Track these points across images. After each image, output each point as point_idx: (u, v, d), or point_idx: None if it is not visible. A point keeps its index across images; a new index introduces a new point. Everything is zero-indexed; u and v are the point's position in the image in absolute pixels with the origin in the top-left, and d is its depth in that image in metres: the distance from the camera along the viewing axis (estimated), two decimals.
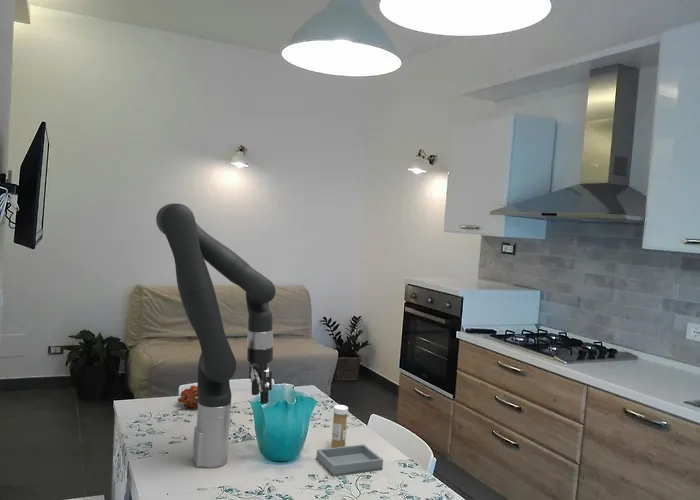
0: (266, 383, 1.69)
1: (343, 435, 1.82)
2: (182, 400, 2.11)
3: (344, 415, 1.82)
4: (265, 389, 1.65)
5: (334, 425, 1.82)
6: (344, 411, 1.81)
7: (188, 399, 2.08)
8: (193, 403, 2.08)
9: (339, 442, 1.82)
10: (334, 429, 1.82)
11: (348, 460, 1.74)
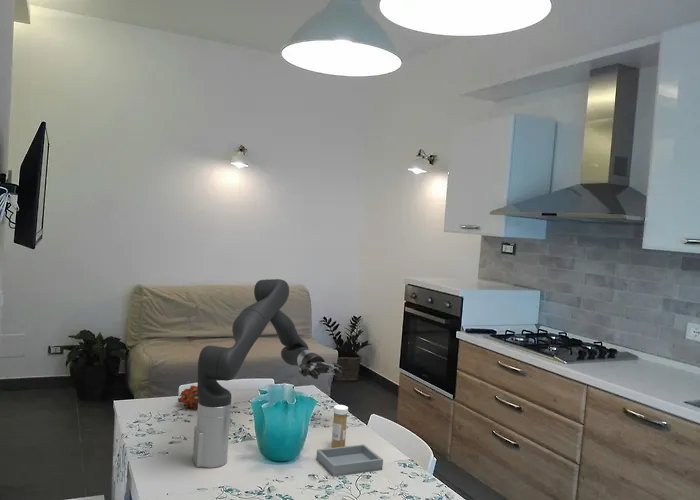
0: (332, 372, 2.00)
1: (343, 435, 1.82)
2: (182, 400, 2.11)
3: (344, 415, 1.82)
4: None
5: (334, 425, 1.82)
6: (344, 411, 1.81)
7: (188, 399, 2.08)
8: (193, 403, 2.08)
9: (339, 442, 1.82)
10: (334, 429, 1.82)
11: (348, 460, 1.74)
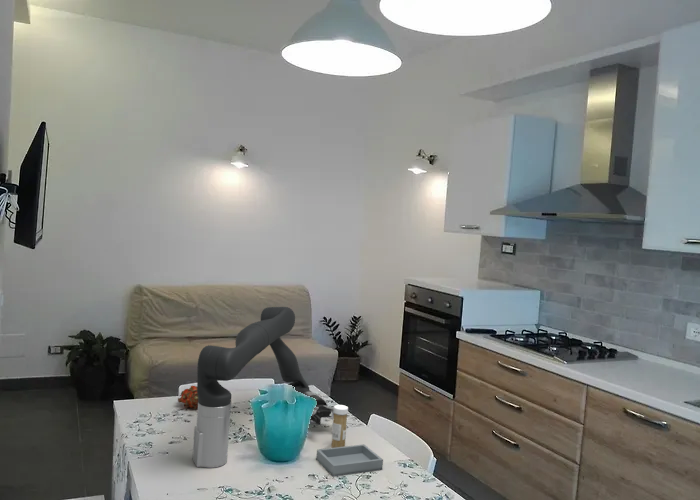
0: None
1: (343, 435, 1.82)
2: (182, 400, 2.11)
3: (344, 415, 1.82)
4: None
5: (334, 425, 1.82)
6: (344, 411, 1.81)
7: (188, 399, 2.08)
8: (193, 403, 2.08)
9: (339, 442, 1.82)
10: (334, 429, 1.82)
11: (348, 460, 1.74)
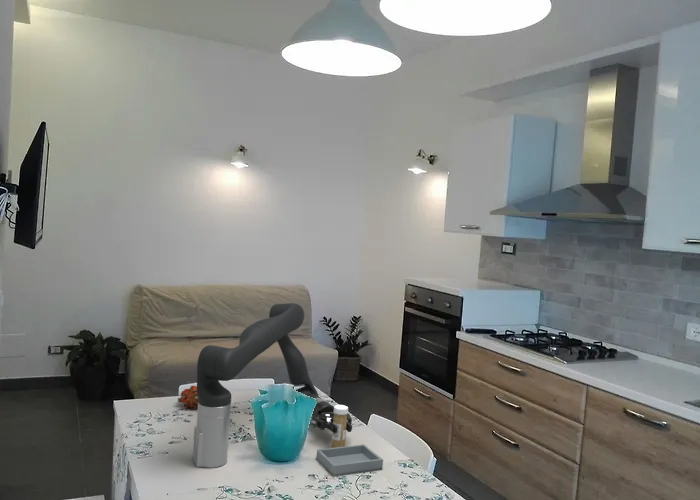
0: None
1: (343, 435, 1.82)
2: (182, 400, 2.11)
3: (344, 415, 1.82)
4: (351, 421, 1.88)
5: None
6: (344, 411, 1.81)
7: (188, 399, 2.08)
8: (193, 403, 2.08)
9: (339, 442, 1.82)
10: None
11: (348, 460, 1.74)
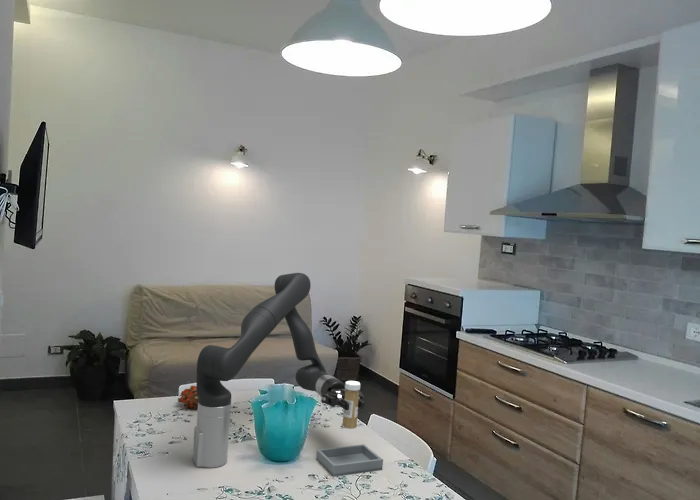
0: None
1: (355, 412, 1.72)
2: (182, 400, 2.11)
3: (356, 391, 1.72)
4: None
5: None
6: (356, 387, 1.72)
7: (188, 399, 2.08)
8: (193, 403, 2.08)
9: (351, 420, 1.72)
10: None
11: (348, 460, 1.74)
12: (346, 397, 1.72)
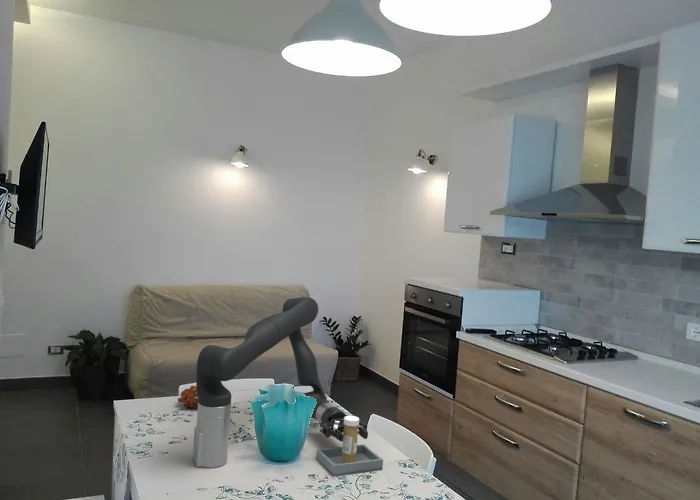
0: None
1: (354, 448, 1.71)
2: (182, 400, 2.11)
3: (355, 427, 1.70)
4: None
5: (344, 437, 1.71)
6: (355, 423, 1.70)
7: (188, 399, 2.08)
8: (193, 403, 2.08)
9: (350, 456, 1.70)
10: (345, 442, 1.70)
11: None
12: (345, 433, 1.71)
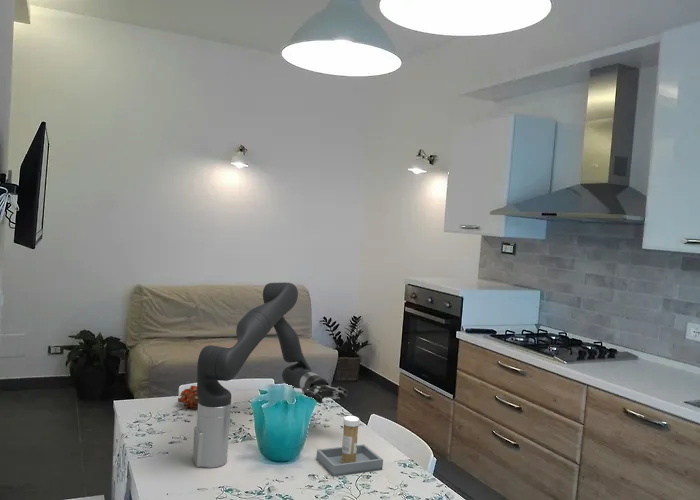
0: (336, 396, 1.90)
1: (354, 448, 1.71)
2: (182, 400, 2.11)
3: (355, 427, 1.70)
4: None
5: (344, 438, 1.71)
6: (355, 423, 1.70)
7: (188, 399, 2.08)
8: (193, 403, 2.08)
9: (350, 456, 1.70)
10: (345, 442, 1.70)
11: None
12: (345, 433, 1.71)
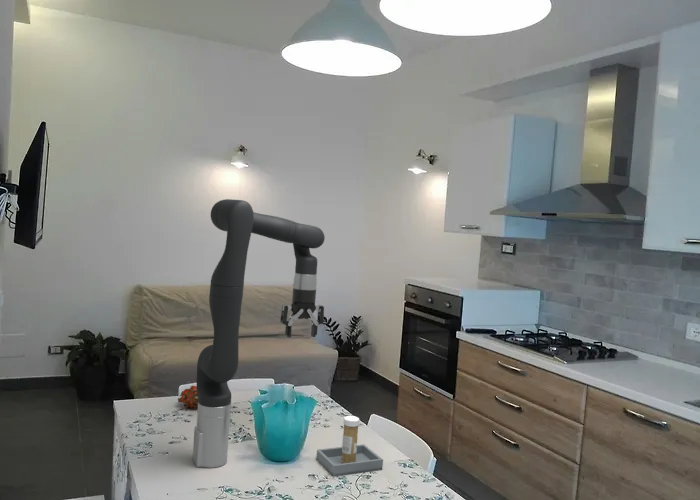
0: None
1: (354, 448, 1.71)
2: (182, 400, 2.11)
3: (355, 427, 1.70)
4: None
5: (344, 438, 1.71)
6: (355, 423, 1.70)
7: (188, 399, 2.08)
8: (193, 403, 2.08)
9: (350, 456, 1.70)
10: (345, 442, 1.70)
11: None
12: (345, 433, 1.71)
